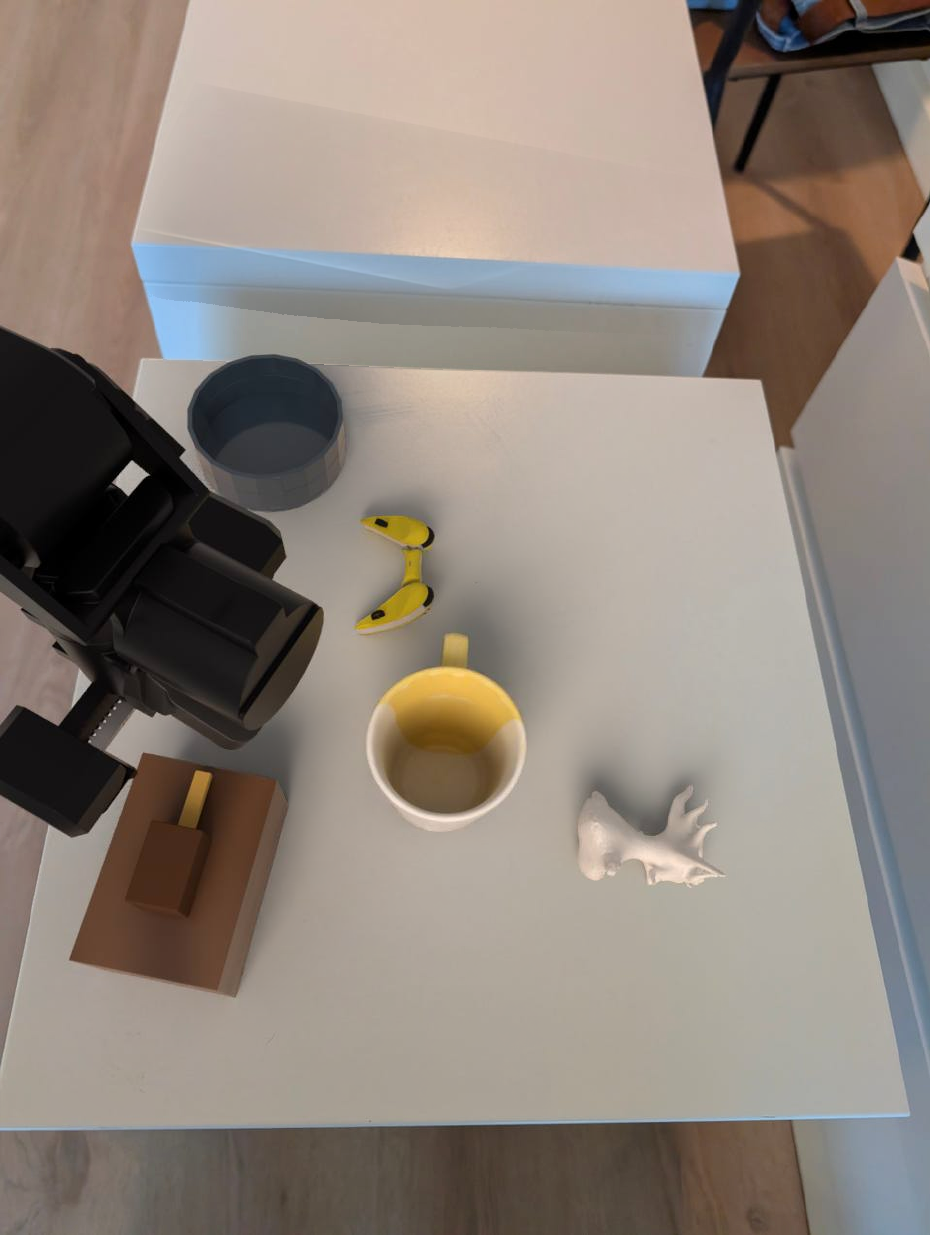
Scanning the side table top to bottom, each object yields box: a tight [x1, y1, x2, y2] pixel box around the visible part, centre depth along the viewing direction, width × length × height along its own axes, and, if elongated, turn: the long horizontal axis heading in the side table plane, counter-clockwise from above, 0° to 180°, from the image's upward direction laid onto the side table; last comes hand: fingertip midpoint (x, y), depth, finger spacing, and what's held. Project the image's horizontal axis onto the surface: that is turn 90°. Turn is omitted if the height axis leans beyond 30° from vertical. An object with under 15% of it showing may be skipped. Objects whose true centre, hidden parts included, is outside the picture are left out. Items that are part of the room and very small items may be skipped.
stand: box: [68, 752, 289, 998], centre depth 60 cm, size 9×13×7 cm
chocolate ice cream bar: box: [125, 770, 212, 918], centre depth 56 cm, size 3×9×3 cm, turn 169°
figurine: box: [576, 784, 726, 889], centre depth 64 cm, size 10×8×10 cm
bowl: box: [186, 353, 347, 513], centre depth 76 cm, size 12×12×5 cm
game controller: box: [354, 515, 436, 636], centre depth 73 cm, size 10×6×4 cm, turn 0°
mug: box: [365, 632, 528, 833], centre depth 63 cm, size 14×10×10 cm
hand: (176, 706), depth 55 cm, fingers open, 9 cm apart
